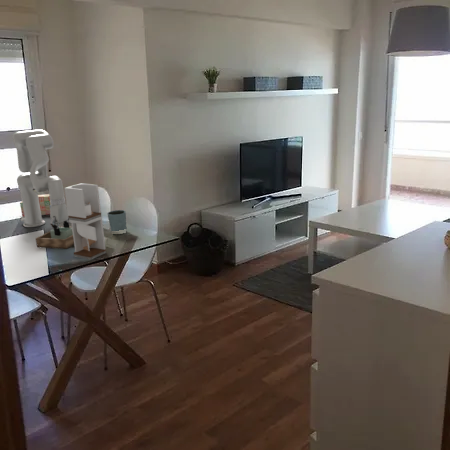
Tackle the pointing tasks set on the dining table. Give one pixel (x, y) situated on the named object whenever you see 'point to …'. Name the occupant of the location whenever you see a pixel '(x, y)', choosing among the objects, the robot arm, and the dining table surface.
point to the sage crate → (62, 233)
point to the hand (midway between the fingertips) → (62, 232)
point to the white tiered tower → (85, 220)
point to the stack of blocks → (41, 204)
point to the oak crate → (54, 241)
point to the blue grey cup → (117, 220)
